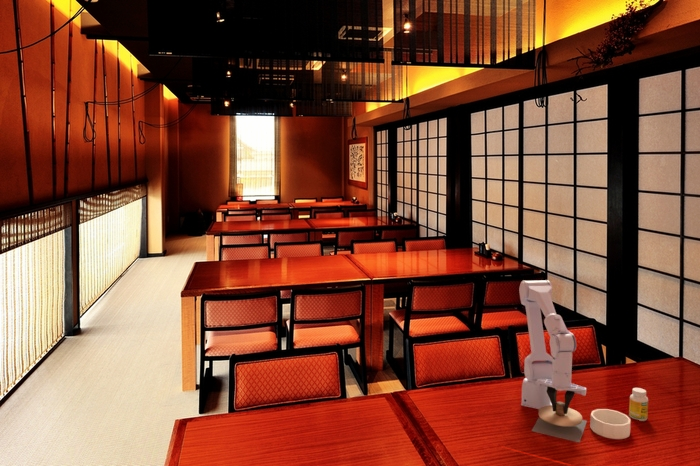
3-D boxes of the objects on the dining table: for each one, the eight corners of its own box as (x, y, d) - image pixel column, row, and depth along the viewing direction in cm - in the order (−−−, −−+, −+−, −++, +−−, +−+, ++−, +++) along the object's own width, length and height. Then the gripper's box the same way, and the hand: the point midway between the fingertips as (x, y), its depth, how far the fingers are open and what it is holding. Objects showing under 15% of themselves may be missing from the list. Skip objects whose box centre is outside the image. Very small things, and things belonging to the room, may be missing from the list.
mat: (531, 432, 163) (531, 430, 163) (542, 412, 177) (542, 410, 177) (579, 443, 156) (579, 442, 156) (587, 422, 170) (587, 420, 170)
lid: (534, 420, 164) (534, 406, 164) (543, 404, 175) (543, 391, 175) (578, 430, 157) (579, 416, 157) (585, 413, 168) (585, 400, 168)
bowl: (588, 435, 162) (588, 419, 161) (593, 420, 171) (593, 406, 170) (628, 444, 156) (629, 428, 155) (630, 429, 165) (631, 414, 165)
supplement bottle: (634, 412, 176) (635, 385, 175) (650, 418, 172) (652, 390, 170) (625, 416, 173) (627, 389, 172) (641, 423, 169) (643, 394, 168)
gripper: (535, 370, 165) (533, 411, 166) (584, 379, 157) (582, 422, 159) (540, 363, 171) (538, 402, 172) (588, 371, 163) (586, 412, 165)
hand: (560, 411), depth 166 cm, fingers closed on lid, 3 cm apart
